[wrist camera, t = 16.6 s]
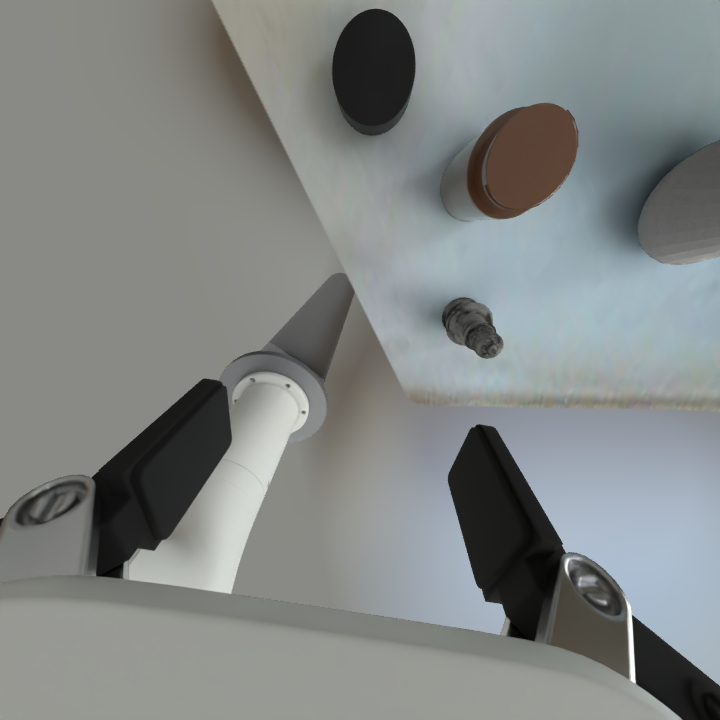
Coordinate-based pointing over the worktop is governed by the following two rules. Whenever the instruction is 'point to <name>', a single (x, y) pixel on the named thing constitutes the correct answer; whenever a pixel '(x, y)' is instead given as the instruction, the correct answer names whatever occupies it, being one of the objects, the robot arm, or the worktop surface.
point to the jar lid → (373, 71)
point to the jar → (511, 164)
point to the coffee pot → (684, 211)
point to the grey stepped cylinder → (472, 327)
